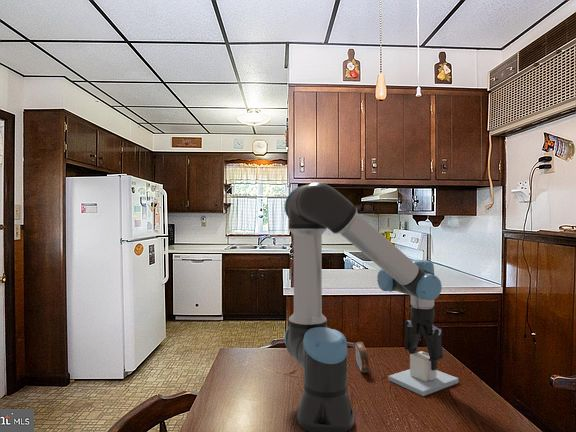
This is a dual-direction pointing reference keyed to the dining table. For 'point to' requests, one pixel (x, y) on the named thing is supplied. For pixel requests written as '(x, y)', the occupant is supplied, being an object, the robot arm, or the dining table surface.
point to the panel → (423, 382)
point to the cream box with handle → (420, 365)
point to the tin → (362, 357)
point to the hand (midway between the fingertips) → (423, 375)
